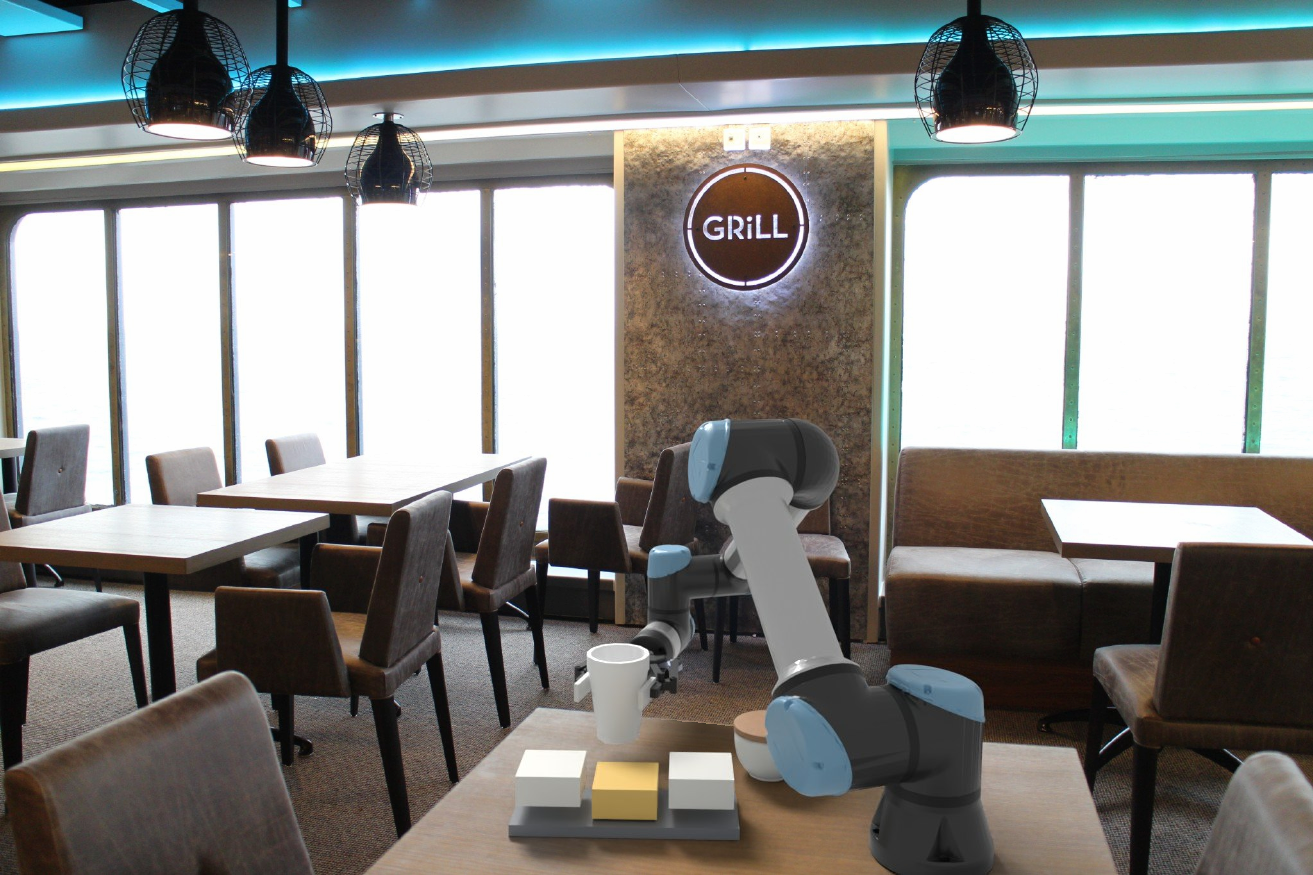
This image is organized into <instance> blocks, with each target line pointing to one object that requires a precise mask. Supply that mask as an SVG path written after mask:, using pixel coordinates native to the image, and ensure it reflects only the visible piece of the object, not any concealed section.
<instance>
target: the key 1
mask: <svg viewBox="0 0 1313 875" xmlns="http://www.w3.org/2000/svg"><path fill="white" fill-rule="evenodd" d="M587 752H588V751H587V750H567V749H566V750H560V749H558V750H557V749H552V750H551V749H525V751H524V753H523V755H522V758H521V761H520V763H519V765H518V768H517V771H516V773H515V776H514V785H515V786H514V788H515V790H514V791H515V792H514V793H515V795H514V796H515V803H514V805H515V806H550V807H580V805H581V801H582V797H583V792H584V788H586V787H585V786H586V782H587V779H588V778H587V775H588V774H587V771H588V770H587V768H588V767H587V764H588V763H587V760H588V759H587V757H588V756H587Z"/></svg>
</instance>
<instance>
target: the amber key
mask: <svg viewBox="0 0 1313 875" xmlns="http://www.w3.org/2000/svg"><path fill="white" fill-rule="evenodd" d="M596 763H597V764H596V768H595V772H594V778H593V783H592V785H591V786H592V787H591V788H592V819H638V820H657V808H658V791H659V781H660V780H659V776H660V775H659V774H660V773H659V772H660V771H659V768H660V767H659V762H645V761H644V762H641V761H640V762H639V761H638V762H637V761H636V762H635V761H633V762H632V761H630V762H629V761H628V762H627V761H597V762H596Z"/></svg>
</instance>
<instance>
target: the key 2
mask: <svg viewBox="0 0 1313 875" xmlns="http://www.w3.org/2000/svg"><path fill="white" fill-rule="evenodd" d="M668 762H669V763H668V764H669V766H668V790H669V809H727V810H734V791H735V775H734V767H733V757H732V753H731V752H698V751H697V752H693V751H687V752H686V751H683V752H682V751H669V761H668Z"/></svg>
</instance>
